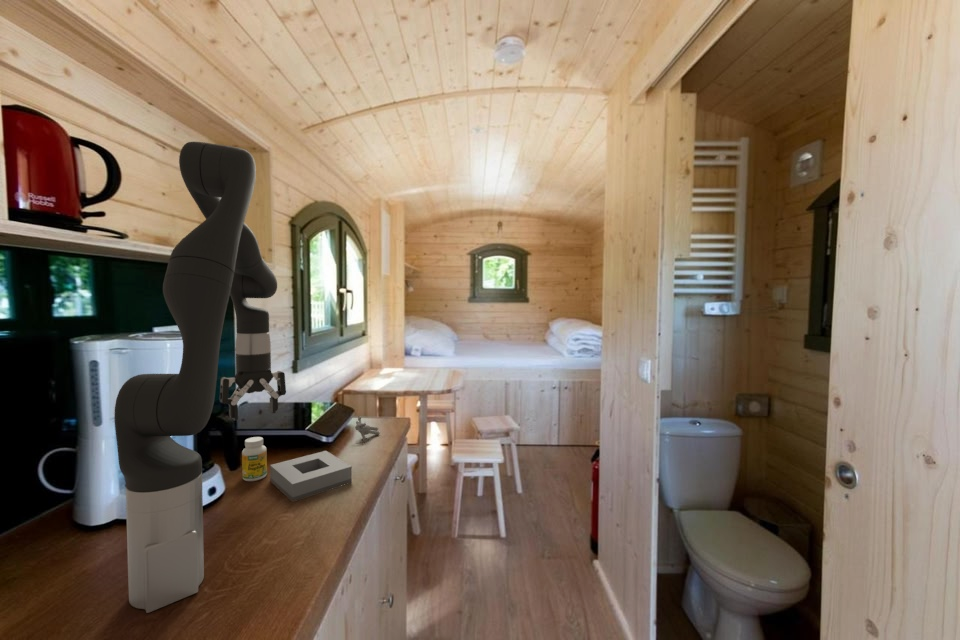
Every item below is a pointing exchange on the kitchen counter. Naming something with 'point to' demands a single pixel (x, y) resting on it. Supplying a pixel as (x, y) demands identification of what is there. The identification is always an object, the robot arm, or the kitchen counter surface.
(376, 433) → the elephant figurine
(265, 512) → the kitchen counter surface
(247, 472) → the supplement bottle
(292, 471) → the socket block
